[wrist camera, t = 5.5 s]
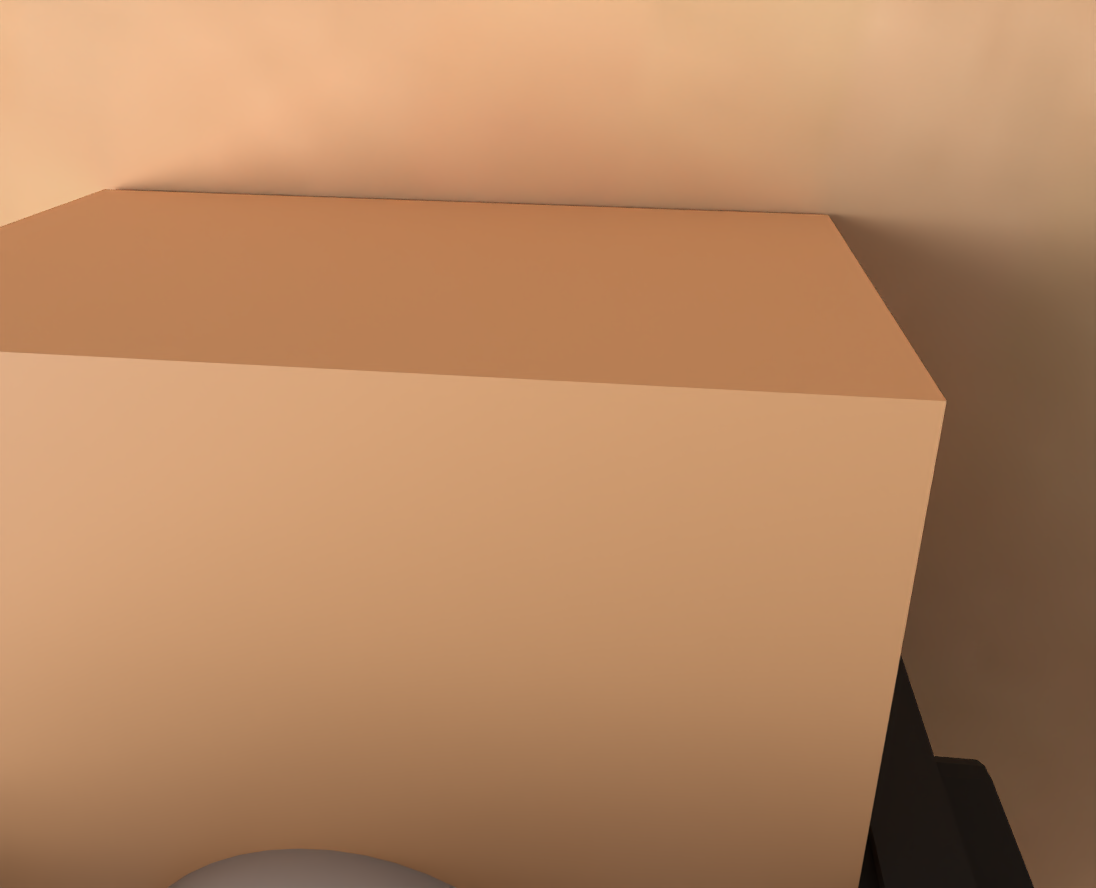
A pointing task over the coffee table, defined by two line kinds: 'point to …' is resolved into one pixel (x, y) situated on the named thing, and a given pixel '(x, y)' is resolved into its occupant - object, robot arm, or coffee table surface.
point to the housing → (447, 544)
